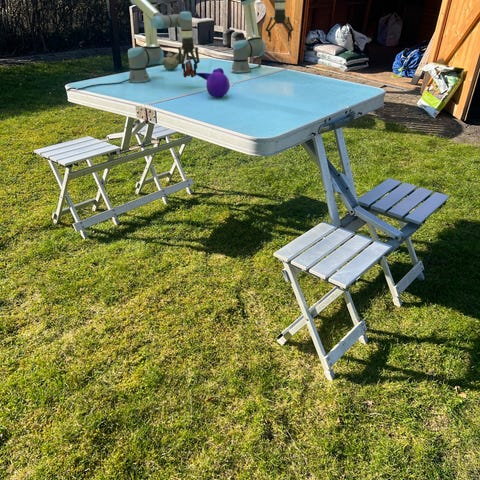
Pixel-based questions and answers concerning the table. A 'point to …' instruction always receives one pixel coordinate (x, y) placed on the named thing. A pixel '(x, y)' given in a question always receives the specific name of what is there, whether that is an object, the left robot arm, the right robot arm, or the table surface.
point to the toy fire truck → (189, 70)
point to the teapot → (171, 61)
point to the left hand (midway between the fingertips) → (189, 73)
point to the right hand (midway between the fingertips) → (279, 41)
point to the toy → (216, 82)
